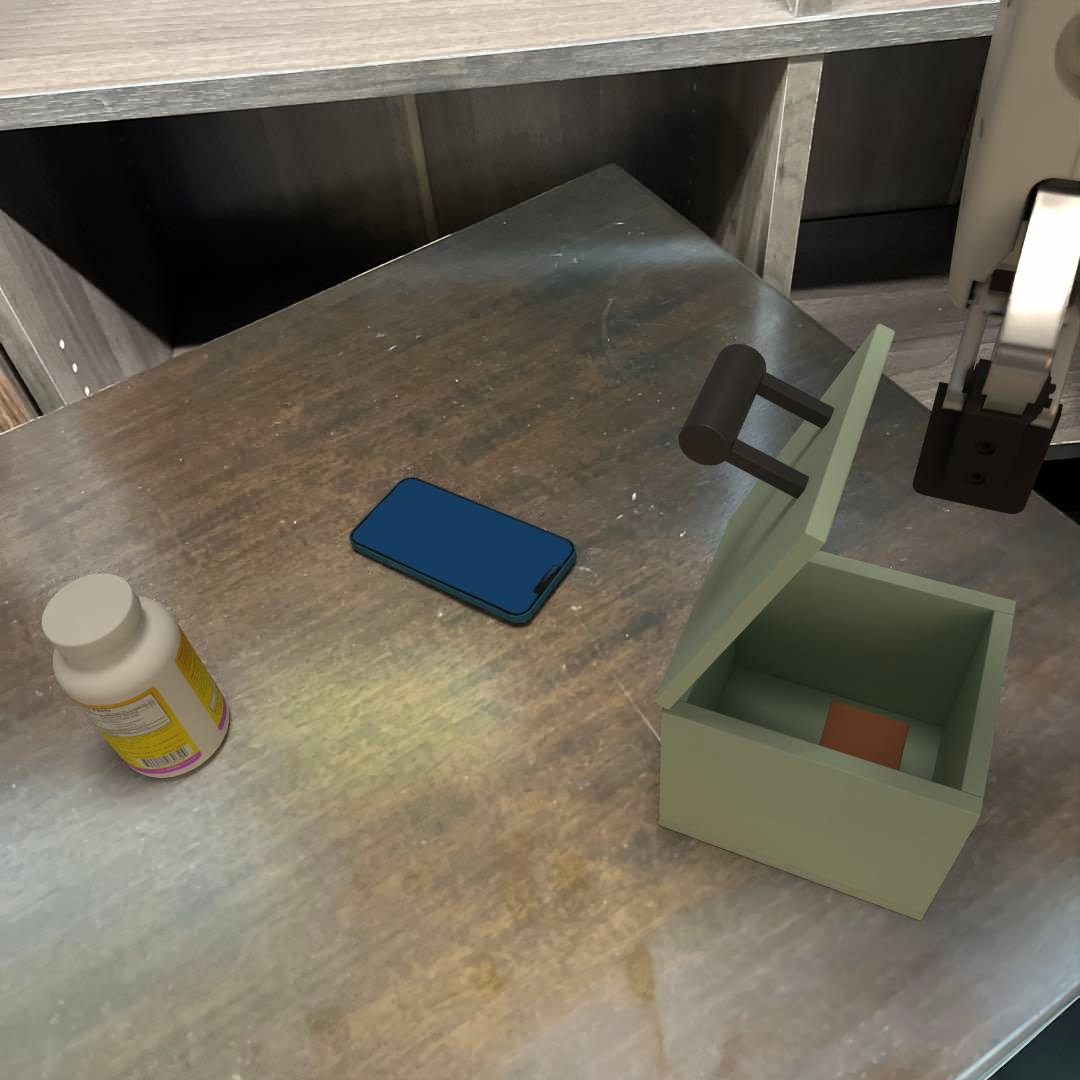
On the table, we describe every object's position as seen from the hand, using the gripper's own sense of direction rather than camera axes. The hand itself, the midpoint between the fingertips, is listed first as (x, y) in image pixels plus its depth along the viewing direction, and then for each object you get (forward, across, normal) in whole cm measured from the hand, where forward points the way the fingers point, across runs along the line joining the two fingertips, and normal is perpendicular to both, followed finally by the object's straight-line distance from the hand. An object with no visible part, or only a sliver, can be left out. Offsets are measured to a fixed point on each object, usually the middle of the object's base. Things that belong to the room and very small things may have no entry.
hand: (988, 396), depth 33 cm
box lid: (+9, 0, +6) cm, 11 cm away
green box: (+28, 0, +3) cm, 28 cm away
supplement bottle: (+28, -11, +39) cm, 49 cm away
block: (+28, 0, +1) cm, 28 cm away
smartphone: (+28, +8, +29) cm, 41 cm away
